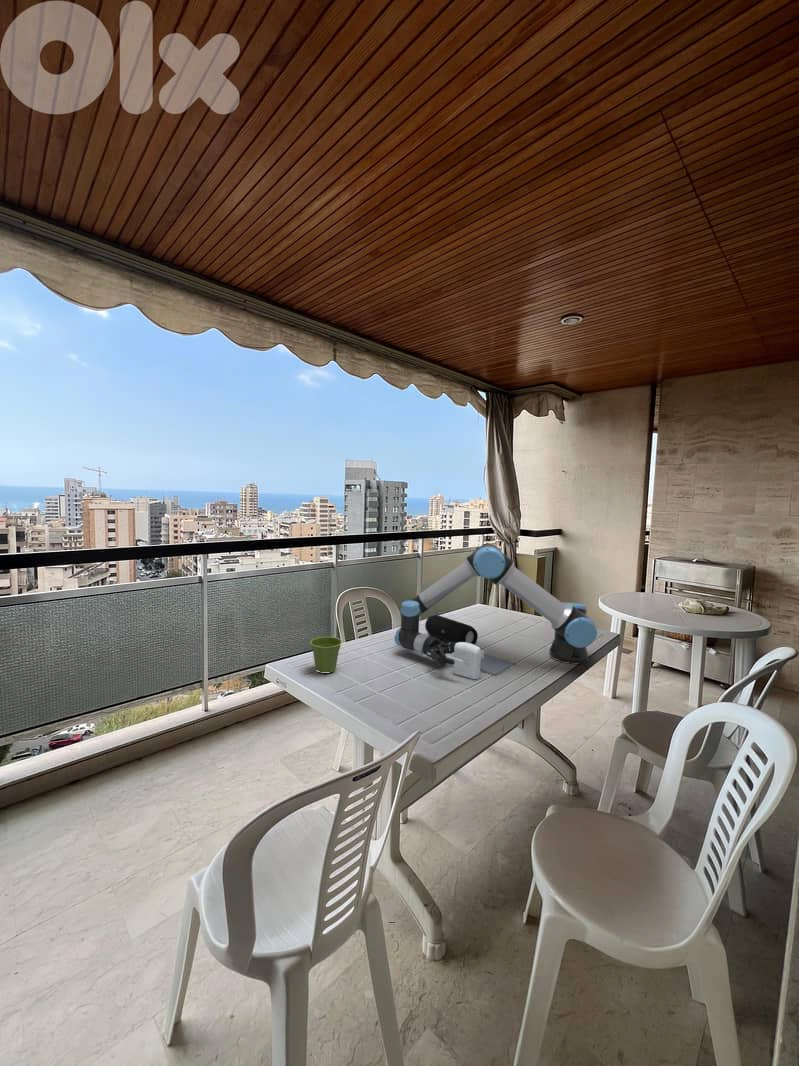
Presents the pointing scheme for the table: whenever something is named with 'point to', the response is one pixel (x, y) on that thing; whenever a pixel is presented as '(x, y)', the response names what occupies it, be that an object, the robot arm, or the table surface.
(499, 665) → the rubber mat
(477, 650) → the photo printer
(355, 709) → the table surface
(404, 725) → the table surface
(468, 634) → the portable speaker
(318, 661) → the plant pot
